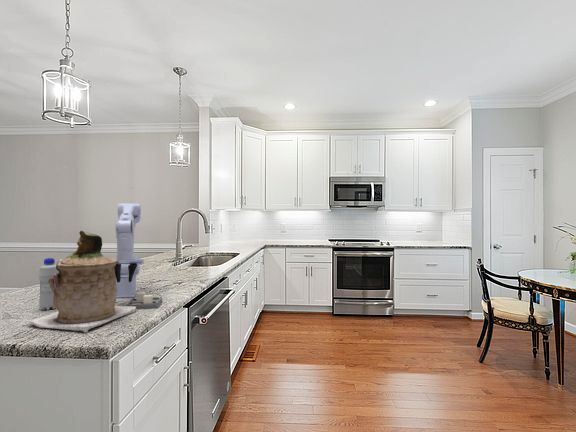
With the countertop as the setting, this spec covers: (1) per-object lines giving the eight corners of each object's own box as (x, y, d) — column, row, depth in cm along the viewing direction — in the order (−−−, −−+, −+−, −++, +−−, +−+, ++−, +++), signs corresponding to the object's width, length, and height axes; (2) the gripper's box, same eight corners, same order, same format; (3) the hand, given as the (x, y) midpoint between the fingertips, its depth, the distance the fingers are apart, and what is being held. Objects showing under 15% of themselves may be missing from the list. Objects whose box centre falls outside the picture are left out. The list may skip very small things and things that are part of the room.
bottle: (36, 312, 119) (36, 259, 119) (40, 307, 125) (40, 257, 125) (58, 309, 123) (58, 258, 122) (61, 305, 128) (61, 256, 128)
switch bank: (125, 309, 123) (125, 304, 123) (132, 302, 133) (132, 297, 133) (157, 308, 126) (157, 302, 126) (162, 301, 136) (162, 296, 135)
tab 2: (143, 305, 126) (143, 296, 126) (144, 303, 128) (145, 295, 128) (151, 305, 126) (151, 296, 126) (152, 303, 129) (152, 294, 129)
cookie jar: (139, 311, 122) (139, 229, 122) (85, 334, 98) (85, 232, 98) (86, 306, 128) (86, 227, 128) (23, 327, 104) (23, 230, 104)
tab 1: (136, 302, 130) (136, 293, 130) (138, 300, 133) (138, 292, 133) (144, 301, 131) (144, 293, 131) (145, 300, 133) (145, 291, 133)
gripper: (101, 250, 125) (101, 284, 125) (140, 250, 128) (140, 283, 128) (108, 248, 132) (108, 280, 132) (145, 248, 135) (145, 279, 135)
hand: (124, 281), depth 130 cm, fingers open, 4 cm apart
